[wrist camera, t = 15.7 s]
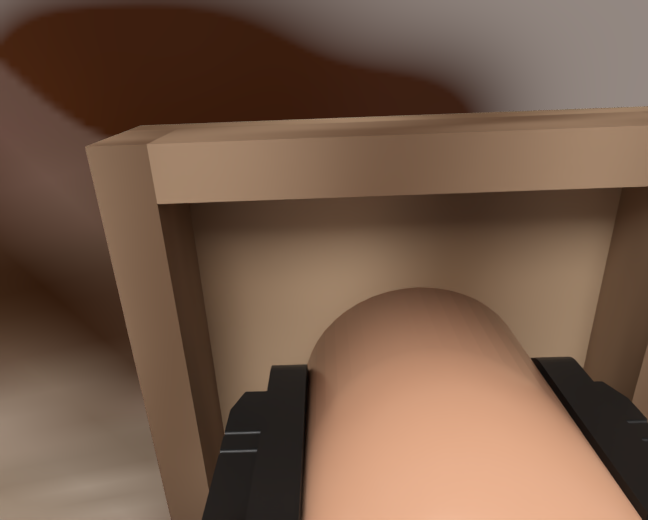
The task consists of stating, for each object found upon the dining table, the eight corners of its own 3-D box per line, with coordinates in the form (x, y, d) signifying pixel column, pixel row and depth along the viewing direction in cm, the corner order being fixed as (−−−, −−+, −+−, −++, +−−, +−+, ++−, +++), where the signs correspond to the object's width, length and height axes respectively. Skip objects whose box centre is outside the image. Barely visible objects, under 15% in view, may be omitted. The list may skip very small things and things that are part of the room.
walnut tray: (663, 105, 10) (770, 120, 8) (532, 663, 18) (565, 757, 15) (141, 125, 10) (84, 146, 8) (240, 671, 18) (228, 765, 16)
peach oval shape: (537, 283, 9) (864, 626, 4) (509, 462, 11) (699, 874, 5) (298, 291, 9) (263, 642, 4) (310, 468, 11) (298, 882, 5)
